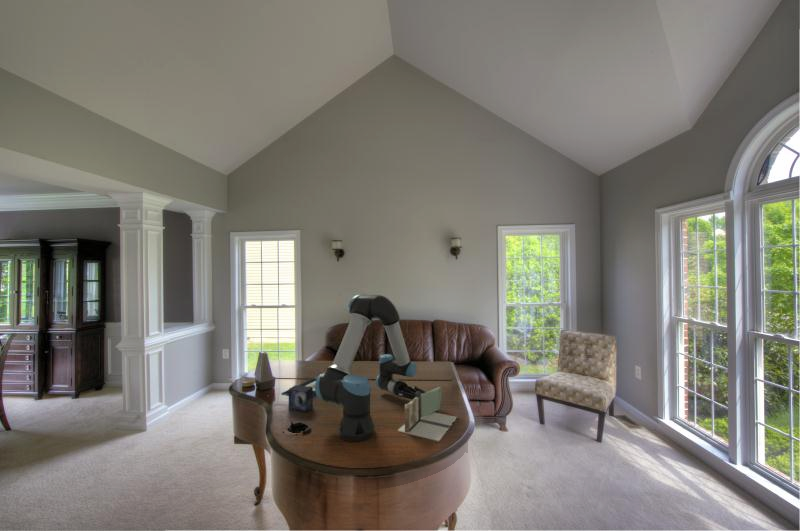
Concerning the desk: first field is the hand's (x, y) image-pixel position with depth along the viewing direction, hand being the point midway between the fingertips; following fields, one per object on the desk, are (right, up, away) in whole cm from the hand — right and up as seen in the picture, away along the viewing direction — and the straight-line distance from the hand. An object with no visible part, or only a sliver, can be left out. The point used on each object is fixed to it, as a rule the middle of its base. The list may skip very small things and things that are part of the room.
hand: (431, 399), depth 159 cm
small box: (-66, -7, +6) cm, 66 cm away
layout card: (-2, -6, -12) cm, 13 cm away
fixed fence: (-9, -6, -13) cm, 18 cm away
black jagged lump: (-60, -7, -17) cm, 63 cm away
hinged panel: (0, -5, -2) cm, 6 cm away
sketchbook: (-66, -8, +35) cm, 76 cm away
